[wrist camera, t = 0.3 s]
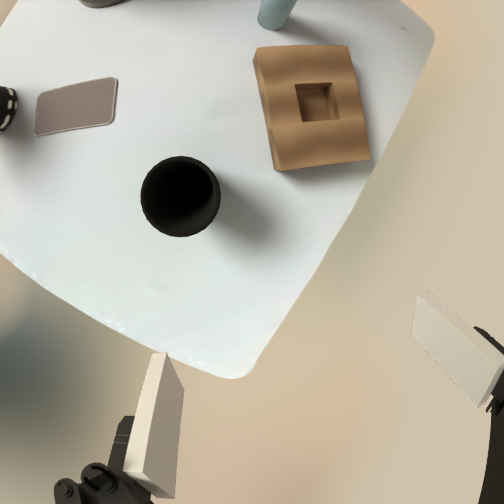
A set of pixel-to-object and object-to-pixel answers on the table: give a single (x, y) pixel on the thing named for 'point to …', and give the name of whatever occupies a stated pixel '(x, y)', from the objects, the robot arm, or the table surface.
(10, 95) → the white-spotted black cylinder
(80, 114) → the smartphone
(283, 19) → the pin
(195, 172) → the cup
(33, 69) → the table surface
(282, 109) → the bore block
